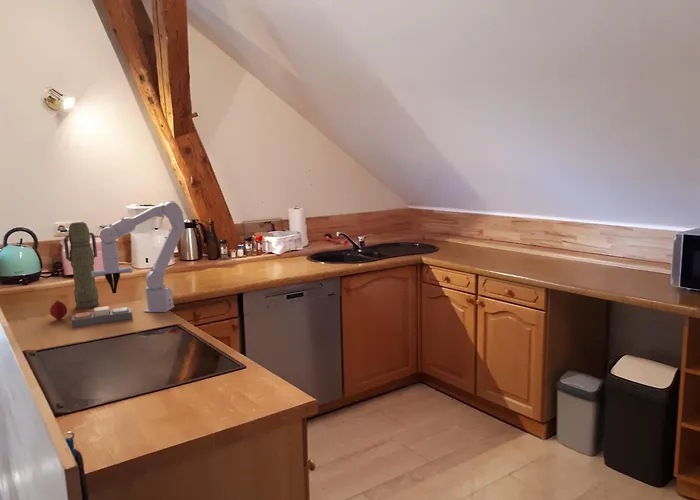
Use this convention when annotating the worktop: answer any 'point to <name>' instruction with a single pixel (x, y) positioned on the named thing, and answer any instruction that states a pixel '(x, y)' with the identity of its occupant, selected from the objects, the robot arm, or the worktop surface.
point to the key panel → (101, 319)
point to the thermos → (82, 264)
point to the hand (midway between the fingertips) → (114, 292)
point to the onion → (58, 310)
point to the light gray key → (120, 310)
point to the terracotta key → (83, 315)
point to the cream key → (101, 311)
